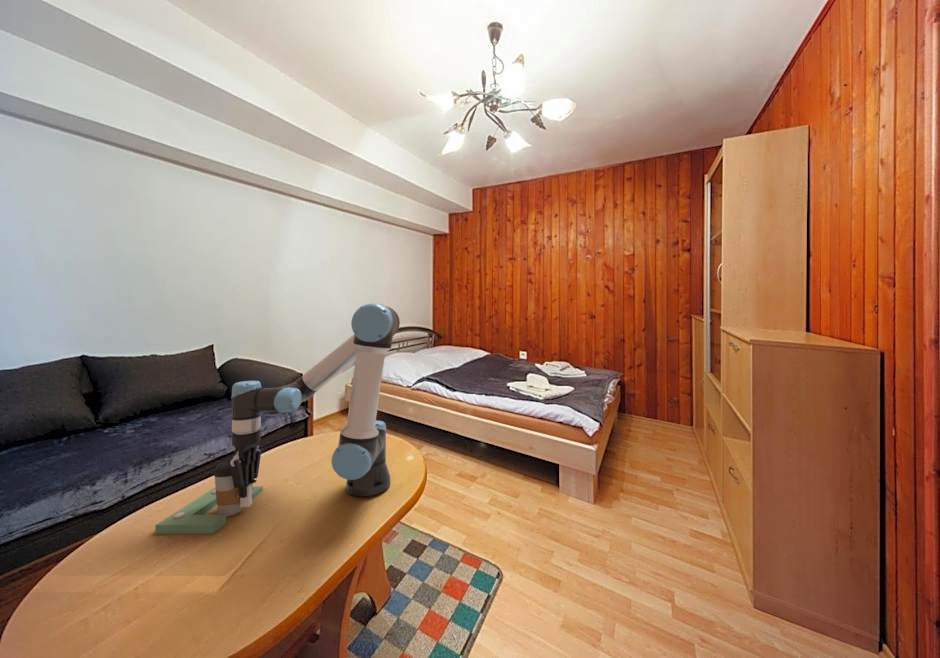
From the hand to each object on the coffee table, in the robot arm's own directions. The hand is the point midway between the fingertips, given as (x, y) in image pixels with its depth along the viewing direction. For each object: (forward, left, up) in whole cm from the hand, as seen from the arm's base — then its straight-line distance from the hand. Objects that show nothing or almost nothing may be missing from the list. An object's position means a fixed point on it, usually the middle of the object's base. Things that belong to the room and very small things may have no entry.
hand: (246, 505), depth 101 cm
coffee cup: (+5, 0, -2) cm, 5 cm away
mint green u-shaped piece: (+11, 0, -2) cm, 11 cm away
